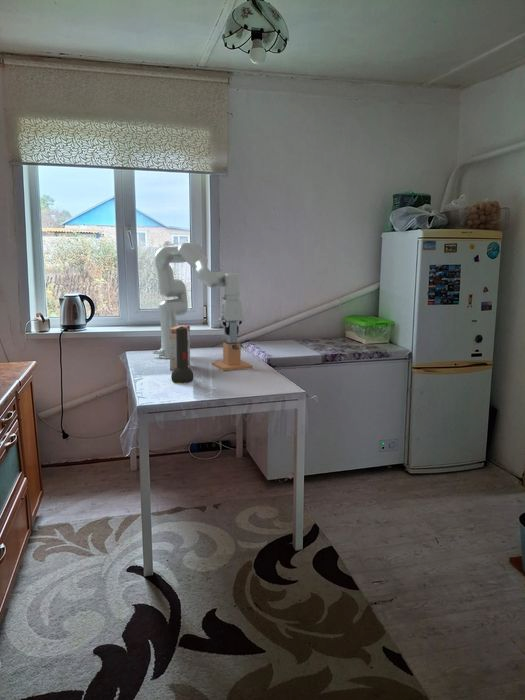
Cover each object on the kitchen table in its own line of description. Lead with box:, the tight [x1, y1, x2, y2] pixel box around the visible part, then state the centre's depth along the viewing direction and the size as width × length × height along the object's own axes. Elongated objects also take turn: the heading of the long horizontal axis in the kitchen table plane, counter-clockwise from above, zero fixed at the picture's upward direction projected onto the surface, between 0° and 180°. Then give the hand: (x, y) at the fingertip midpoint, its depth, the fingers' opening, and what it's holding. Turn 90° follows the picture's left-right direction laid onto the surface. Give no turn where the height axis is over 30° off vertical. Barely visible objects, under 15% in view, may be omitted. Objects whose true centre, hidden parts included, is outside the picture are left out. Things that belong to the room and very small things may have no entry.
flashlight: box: [170, 326, 195, 384], centre depth 225 cm, size 10×25×10 cm
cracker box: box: [169, 324, 191, 371], centre depth 252 cm, size 14×6×21 cm, turn 168°
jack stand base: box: [211, 342, 253, 372], centre depth 257 cm, size 16×16×12 cm
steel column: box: [225, 321, 239, 345], centre depth 256 cm, size 5×5×20 cm
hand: (231, 333), depth 255 cm, fingers closed on steel column, 4 cm apart
